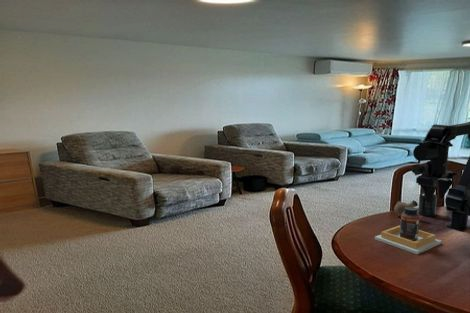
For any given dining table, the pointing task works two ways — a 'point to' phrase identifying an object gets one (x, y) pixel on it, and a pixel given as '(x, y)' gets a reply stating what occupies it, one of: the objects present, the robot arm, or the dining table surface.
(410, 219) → the supplement bottle
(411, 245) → the plate
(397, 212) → the oil lamp
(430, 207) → the supplement bottle
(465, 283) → the dining table surface
